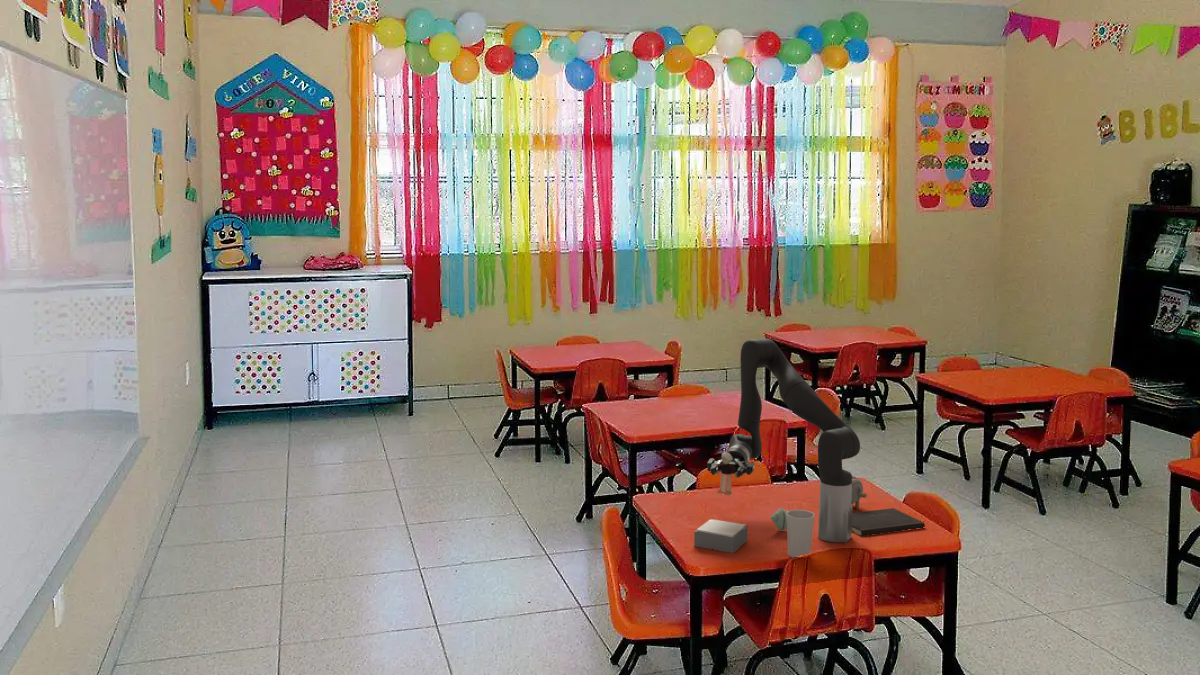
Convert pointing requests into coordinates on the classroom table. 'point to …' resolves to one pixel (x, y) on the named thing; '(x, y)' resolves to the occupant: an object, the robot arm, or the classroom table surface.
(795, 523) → the cup
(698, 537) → the plinth
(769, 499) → the classroom table surface
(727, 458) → the grandmother figurine
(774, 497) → the classroom table surface
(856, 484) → the toy sheep
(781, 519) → the robot head
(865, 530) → the hardcover book
